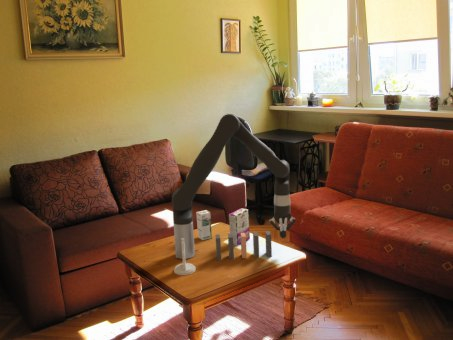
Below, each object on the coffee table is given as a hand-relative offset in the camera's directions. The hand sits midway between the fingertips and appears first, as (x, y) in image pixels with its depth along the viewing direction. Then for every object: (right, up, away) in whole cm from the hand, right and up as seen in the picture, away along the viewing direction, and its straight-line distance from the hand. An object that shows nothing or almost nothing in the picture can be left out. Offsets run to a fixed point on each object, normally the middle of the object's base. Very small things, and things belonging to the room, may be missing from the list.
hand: (282, 237), depth 226 cm
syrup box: (-38, -4, +27) cm, 47 cm away
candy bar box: (-20, -5, +19) cm, 28 cm away
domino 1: (-31, -10, 0) cm, 32 cm away
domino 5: (-7, -8, +1) cm, 11 cm away
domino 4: (-13, -9, +1) cm, 15 cm away
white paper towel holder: (-46, -13, -12) cm, 49 cm away
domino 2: (-25, -9, 0) cm, 26 cm away
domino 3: (-19, -9, +1) cm, 21 cm away
